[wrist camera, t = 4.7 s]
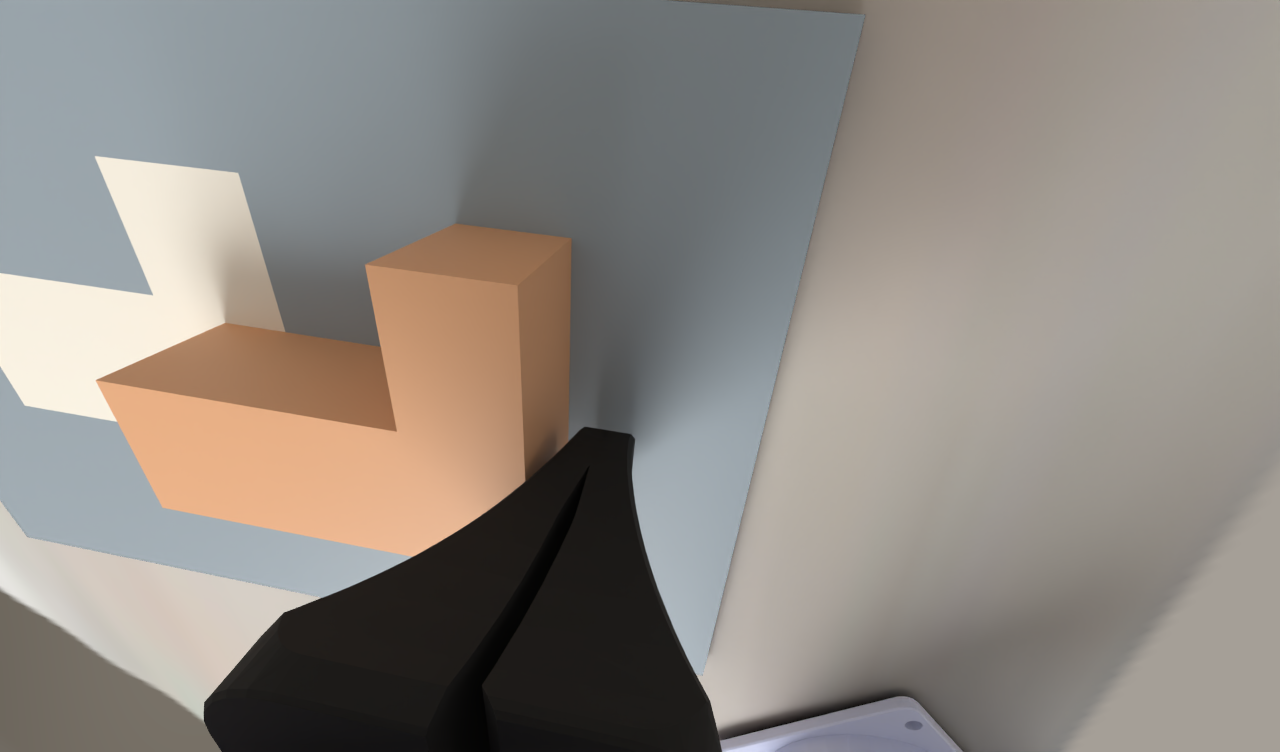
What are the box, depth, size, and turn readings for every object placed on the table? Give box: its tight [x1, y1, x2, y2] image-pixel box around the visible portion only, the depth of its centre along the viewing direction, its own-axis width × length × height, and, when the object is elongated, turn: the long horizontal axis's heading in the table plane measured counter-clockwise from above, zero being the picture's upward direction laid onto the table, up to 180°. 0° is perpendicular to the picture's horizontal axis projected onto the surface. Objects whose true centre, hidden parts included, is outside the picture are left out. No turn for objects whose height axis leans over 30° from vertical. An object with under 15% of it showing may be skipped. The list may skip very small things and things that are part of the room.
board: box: [0, 0, 865, 676], centre depth 14 cm, size 26×18×1 cm
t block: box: [95, 224, 572, 557], centre depth 12 cm, size 9×10×3 cm
